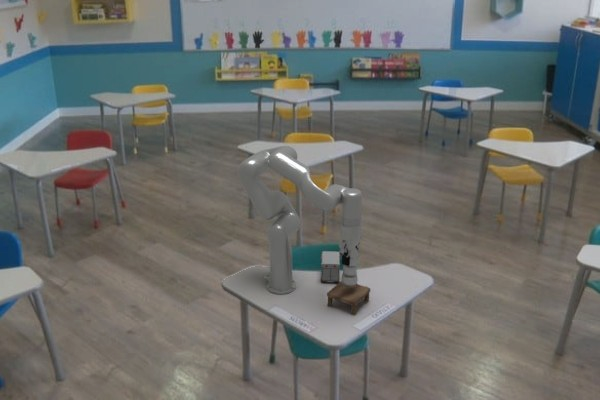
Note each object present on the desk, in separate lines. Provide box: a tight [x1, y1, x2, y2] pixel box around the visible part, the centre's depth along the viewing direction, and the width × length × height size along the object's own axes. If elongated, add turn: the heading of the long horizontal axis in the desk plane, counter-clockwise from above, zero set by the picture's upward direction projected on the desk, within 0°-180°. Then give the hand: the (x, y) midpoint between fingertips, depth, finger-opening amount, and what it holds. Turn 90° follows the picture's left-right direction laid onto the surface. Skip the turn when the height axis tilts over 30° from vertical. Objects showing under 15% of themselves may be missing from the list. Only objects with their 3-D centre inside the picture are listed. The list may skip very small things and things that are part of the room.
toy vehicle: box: [320, 250, 342, 284], centre depth 255 cm, size 10×17×10 cm, turn 177°
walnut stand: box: [326, 280, 371, 316], centre depth 234 cm, size 13×13×6 cm
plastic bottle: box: [340, 247, 359, 287], centre depth 227 cm, size 6×7×20 cm
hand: (350, 260), depth 227 cm, fingers closed on plastic bottle, 6 cm apart
